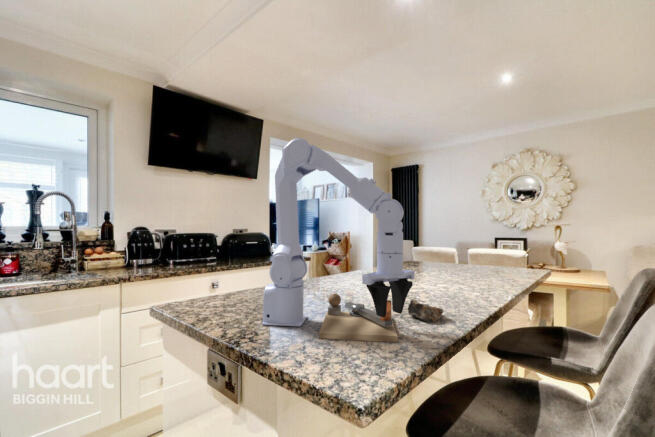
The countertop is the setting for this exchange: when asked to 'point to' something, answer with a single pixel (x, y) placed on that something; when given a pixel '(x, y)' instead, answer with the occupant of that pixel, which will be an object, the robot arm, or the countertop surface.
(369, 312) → the lever
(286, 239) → the robot arm
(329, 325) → the base
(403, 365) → the countertop surface
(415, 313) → the rock
